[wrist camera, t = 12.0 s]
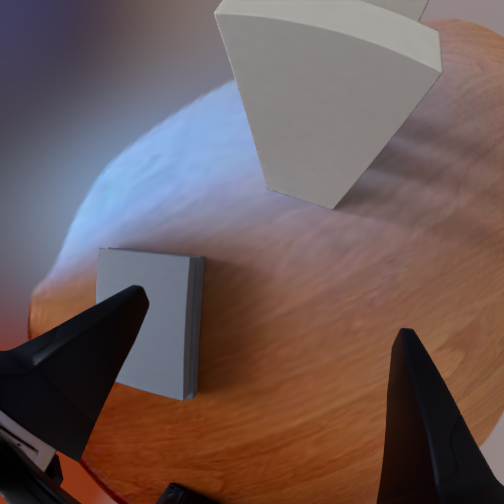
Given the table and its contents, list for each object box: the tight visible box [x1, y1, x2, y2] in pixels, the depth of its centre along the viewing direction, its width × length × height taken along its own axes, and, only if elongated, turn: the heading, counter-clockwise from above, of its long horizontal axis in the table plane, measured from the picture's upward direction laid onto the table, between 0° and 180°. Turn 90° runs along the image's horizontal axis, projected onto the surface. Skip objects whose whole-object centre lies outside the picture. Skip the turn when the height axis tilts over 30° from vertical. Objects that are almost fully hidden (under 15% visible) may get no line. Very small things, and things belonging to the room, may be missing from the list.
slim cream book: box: [214, 0, 442, 210], centre depth 12 cm, size 2×5×16 cm, turn 72°
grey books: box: [96, 247, 205, 401], centre depth 20 cm, size 11×8×3 cm
